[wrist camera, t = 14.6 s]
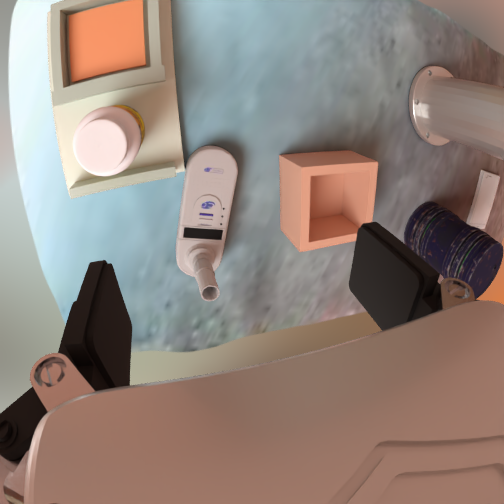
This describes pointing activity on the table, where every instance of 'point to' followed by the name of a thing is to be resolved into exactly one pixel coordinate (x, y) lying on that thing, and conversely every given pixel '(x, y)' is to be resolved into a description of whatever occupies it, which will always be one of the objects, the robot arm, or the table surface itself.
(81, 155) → the supplement bottle
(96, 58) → the cradle plate
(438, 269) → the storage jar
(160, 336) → the table surface
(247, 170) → the table surface
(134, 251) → the table surface
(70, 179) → the cream tray with frame
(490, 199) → the hard drive
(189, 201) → the electronic device
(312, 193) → the cup
